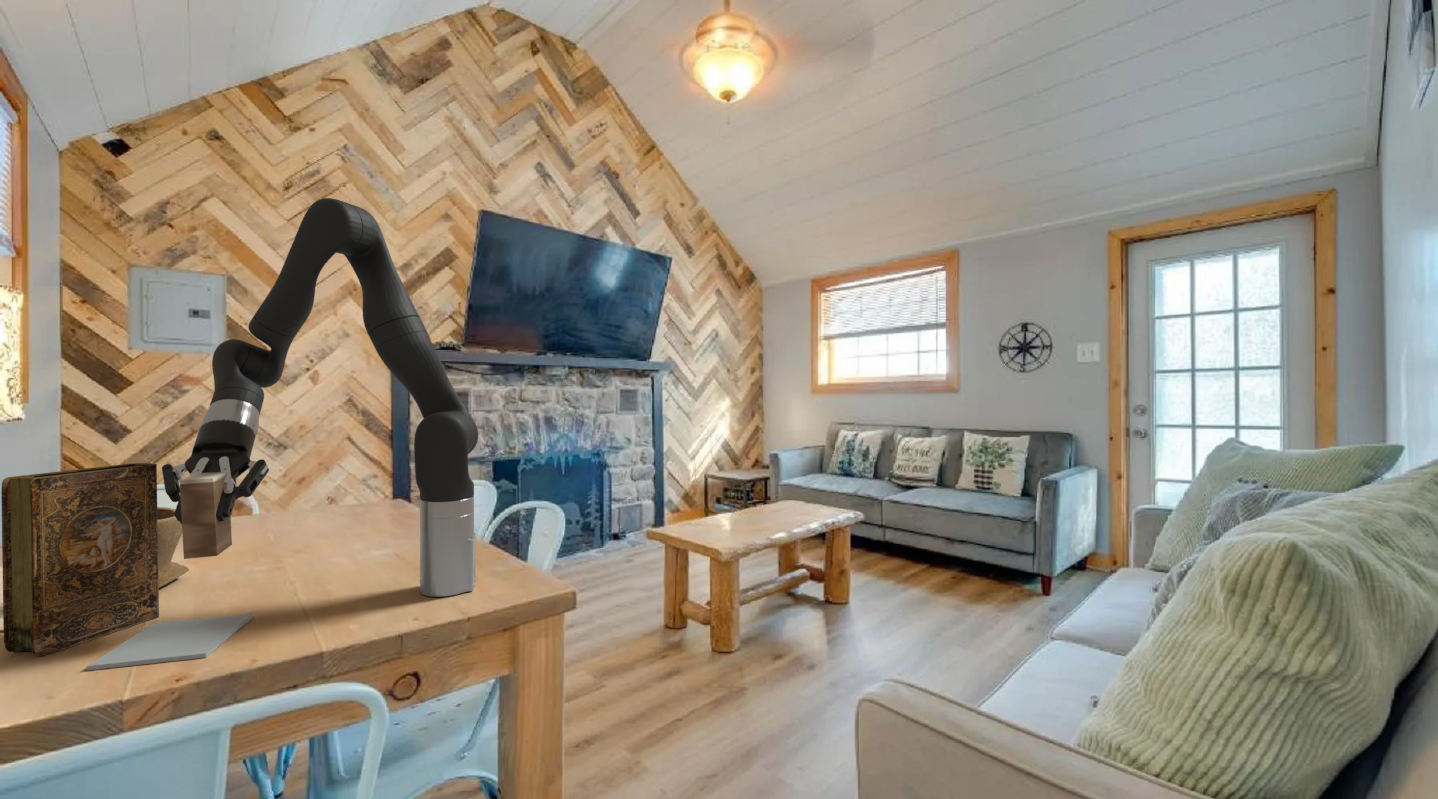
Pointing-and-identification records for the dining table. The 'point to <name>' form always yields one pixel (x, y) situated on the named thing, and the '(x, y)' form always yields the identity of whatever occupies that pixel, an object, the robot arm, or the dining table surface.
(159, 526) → the stone cup
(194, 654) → the felt mat
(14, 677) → the dining table surface
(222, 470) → the robot arm
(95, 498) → the book
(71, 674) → the dining table surface
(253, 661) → the dining table surface
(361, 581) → the dining table surface
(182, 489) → the brown rectangular block
